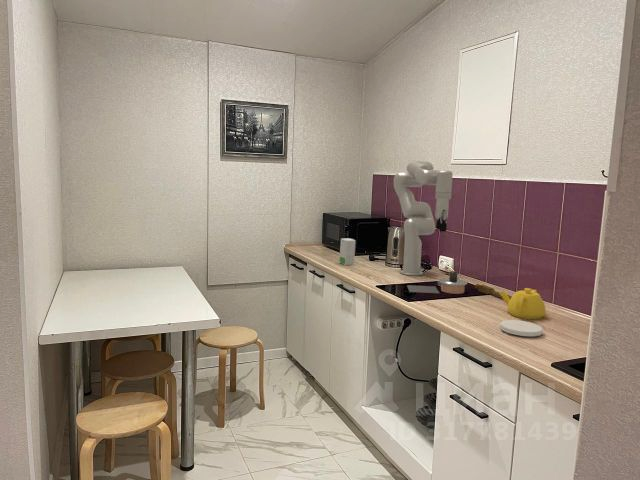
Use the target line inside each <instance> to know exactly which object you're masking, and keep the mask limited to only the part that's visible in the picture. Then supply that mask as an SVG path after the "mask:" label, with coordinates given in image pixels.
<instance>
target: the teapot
mask: <svg viewBox="0 0 640 480" xmlns="http://www.w3.org/2000/svg"><path fill="white" fill-rule="evenodd" d="M523 289H524V290H517V291H516V292H515V293H513V295H511V296H512V298H511V299H510V298H509V297H508V295H509V294H507V292H506V291H505V290H502V291H501V292H500V291H499V292H500V295H501V296H502V298H503V299H504V300H503V299H502V300H503V301H504V303H505V304H506V306H507V311H508V313H509V314H510V315H511V316H514V317H516V318H519V319H524V320H540V319H541V318H543V317H544V316H546V312H547V311H546V305H545V302H544V300H543V298H542V296H541V295H540V294H539V293H538V292H537V289H532V288H530V287H529V288H528V287H525V288H523Z"/></svg>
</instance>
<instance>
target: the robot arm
mask: <svg viewBox="0 0 640 480" xmlns="http://www.w3.org/2000/svg"><path fill="white" fill-rule="evenodd" d="M453 175H454V174H453V172H452V171H451V170H441V169H440V170H439V169H438V170H437V169H434V165H433V164H432V162H430V161H426V160H423V161H422V160H413V161H411V162H409V163H408V164H407V166H406V171H400V172H397V173H396V174H395V175H394V176H393V188H394V190H395V193H396V196H397V197H398V199H399V204H400V207H401V210H402V215H403V216H404V218H406V219H405V221H404V222H403V232H404V233H403V234H404V248H403V249H404V251H403V265H402V268H403V269H401V270H400V271H399V273H400V274H401V275H405V276H411V277H412V276H415V277H416V276H422V275H424V272H423V271H422V270H421V266H422V265H421V264H422V247H423V246H422V245H423V243H422V240H421V238H420V236H430V235H432V234H433V235H434V233H435V231H436V230H439V232H447V227H448V226H447V225H448V224H447V222H448V217H449V207H450V203H449V201H450V200H451V199H452V187H453ZM423 186H435V197H434V199H436V204H435V211H434V212H435V213H434V216H433V212H432V209H431V205H430V204H429V203H427V202H425V201H417V200H416V199H415V195H414V193H413V192H412V191H411V190H410V189H409V188H421V187H423ZM434 217H435V218H436V223H435V220H434Z"/></svg>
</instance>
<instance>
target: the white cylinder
mask: <svg viewBox="0 0 640 480" xmlns="http://www.w3.org/2000/svg"><path fill="white" fill-rule="evenodd" d="M356 241H357V240H355V239H354V238H349V237H347V238H340V245H339V246H340V247H339V260H338V261H339V262H340V263H339V264H341V263H342V264H341V265H343V264H344V265H343V266H345V265H346V266H354V265H355V254H356V244H357V243H356ZM353 264H354V265H353Z"/></svg>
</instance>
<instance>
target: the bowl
mask: <svg viewBox="0 0 640 480" xmlns="http://www.w3.org/2000/svg"><path fill="white" fill-rule="evenodd" d="M440 285H441V287H440V290H441V292H443V293H446V294H451V295H452V294H454V295H459V294H464V293H465V286H466V285H465V286H450V285H445V284H441V283H440Z"/></svg>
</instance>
